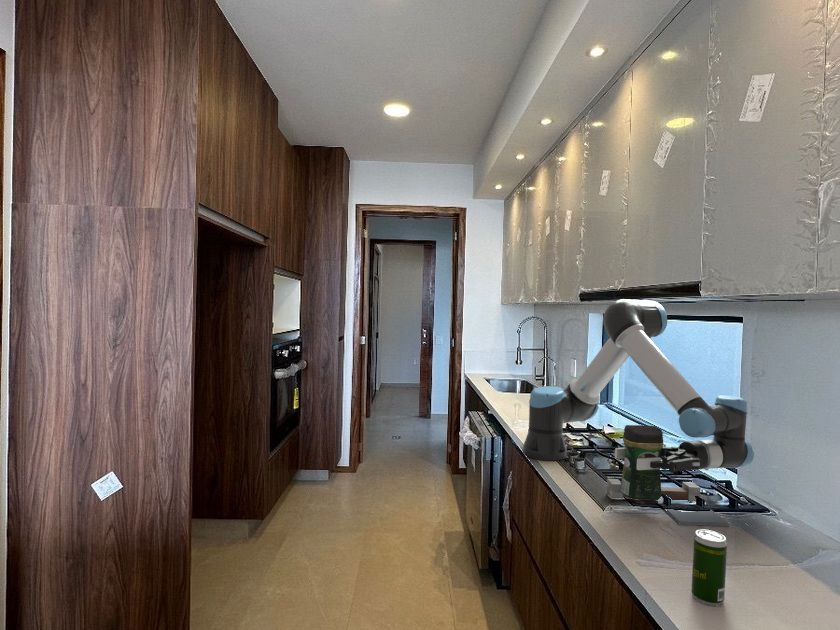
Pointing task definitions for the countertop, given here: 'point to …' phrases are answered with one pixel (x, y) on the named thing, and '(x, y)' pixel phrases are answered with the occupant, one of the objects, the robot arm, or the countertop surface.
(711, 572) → the beer can
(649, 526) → the countertop surface
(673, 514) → the slate end pad
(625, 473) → the coffee jar
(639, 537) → the countertop surface
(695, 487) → the walnut handrail
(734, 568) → the countertop surface
